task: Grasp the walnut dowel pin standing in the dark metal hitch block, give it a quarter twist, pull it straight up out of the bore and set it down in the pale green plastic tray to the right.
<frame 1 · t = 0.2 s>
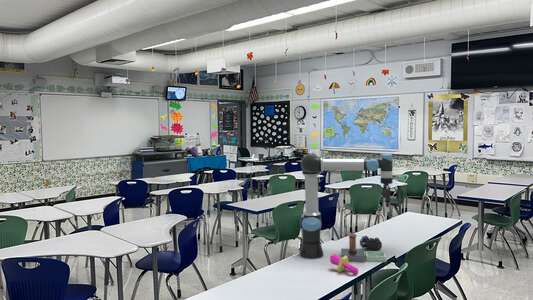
hand: (386, 209, 272), 28 cm above the table, fingers open, 13 cm apart
toy: (370, 250, 276), on the table
pin: (352, 246, 261), in the hitch block
toy 2: (343, 271, 239), on the table
tray: (375, 259, 259), on the table
hitch block: (352, 258, 261), on the table
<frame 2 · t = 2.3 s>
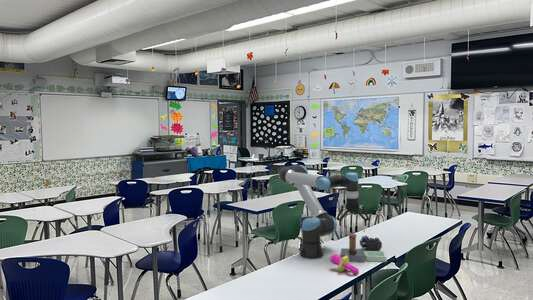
hand: (352, 231, 260), 17 cm above the table, fingers open, 13 cm apart
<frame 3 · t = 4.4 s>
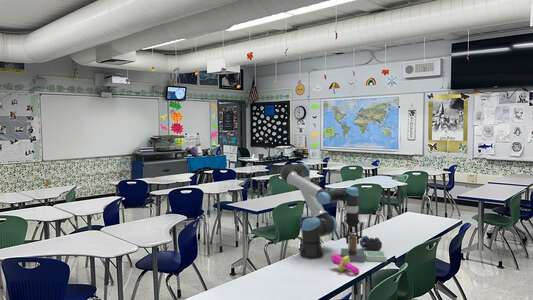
hand: (352, 248, 261), 6 cm above the table, fingers closed on pin, 4 cm apart
pin: (352, 246, 261), in the hitch block, touching gripper
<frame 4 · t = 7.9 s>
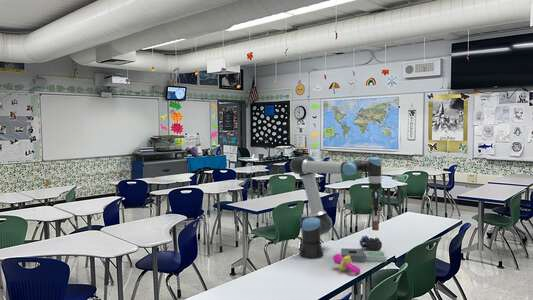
hand: (375, 219, 257), 25 cm above the table, fingers closed on pin, 4 cm apart
pin: (375, 217, 257), point 26 cm above the table, touching gripper
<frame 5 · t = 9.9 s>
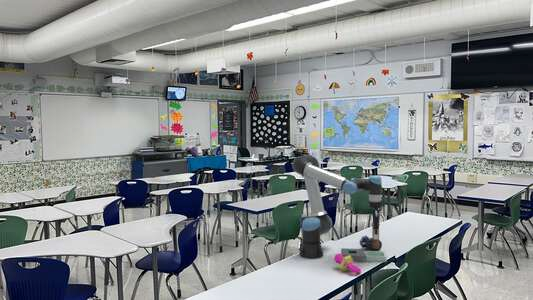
hand: (375, 238, 258), 13 cm above the table, fingers closed on pin, 4 cm apart
pin: (375, 235, 258), point 15 cm above the table, touching gripper
when the fingers open (8 cm above the table, at t = 11.7 s): pin stays where it is, resting on tray.
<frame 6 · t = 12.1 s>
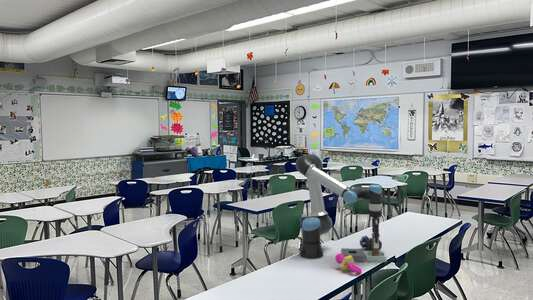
hand: (375, 245, 258), 9 cm above the table, fingers open, 10 cm apart
pin: (375, 246, 258), in the tray, point 8 cm above the table
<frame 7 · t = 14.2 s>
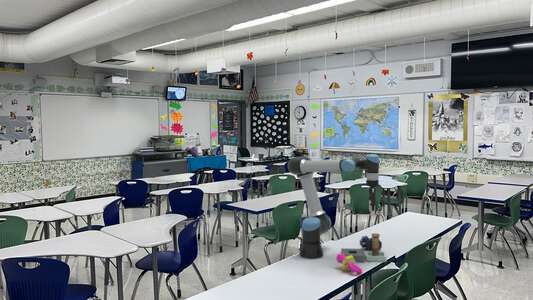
hand: (371, 213, 260), 28 cm above the table, fingers open, 13 cm apart
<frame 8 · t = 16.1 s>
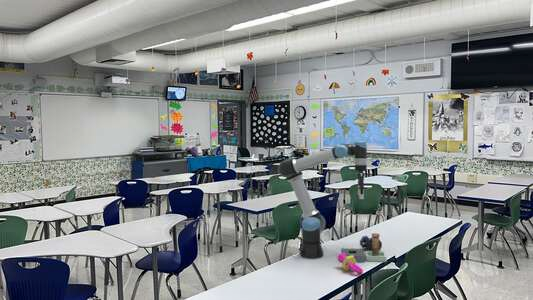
hand: (360, 197, 269), 37 cm above the table, fingers open, 13 cm apart
at the end: pin inside the target area on the tray (0.0 cm from its centre), point 8.1 cm above the tray's base; the gripper is holding nothing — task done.
